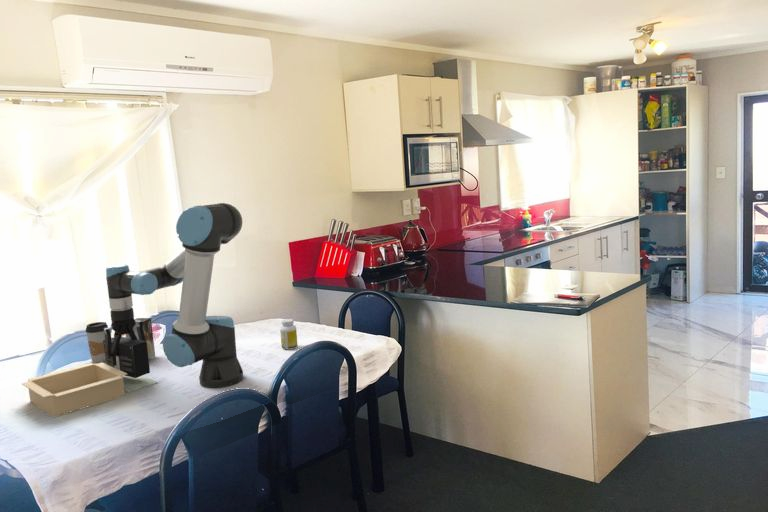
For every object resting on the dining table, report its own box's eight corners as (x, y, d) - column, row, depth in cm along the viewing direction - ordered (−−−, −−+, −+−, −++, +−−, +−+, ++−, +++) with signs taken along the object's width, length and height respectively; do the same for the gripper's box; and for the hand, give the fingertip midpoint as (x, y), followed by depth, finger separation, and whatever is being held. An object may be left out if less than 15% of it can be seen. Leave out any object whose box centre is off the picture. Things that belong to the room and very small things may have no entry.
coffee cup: (84, 363, 255) (80, 326, 253) (101, 356, 263) (96, 321, 261) (100, 364, 252) (96, 327, 250) (116, 358, 260) (112, 322, 257)
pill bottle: (300, 346, 264) (299, 319, 262) (290, 351, 259) (288, 323, 257) (288, 344, 268) (286, 317, 266) (278, 349, 262) (276, 321, 260)
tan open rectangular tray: (133, 395, 217) (131, 375, 216) (49, 420, 198) (47, 399, 197) (101, 379, 235) (98, 361, 234) (21, 401, 216) (19, 381, 215)
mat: (158, 382, 228) (158, 381, 228) (128, 392, 220) (127, 390, 220) (131, 371, 243) (131, 370, 242) (102, 379, 235) (101, 378, 235)
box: (151, 372, 229) (147, 340, 227) (135, 379, 224) (130, 346, 221) (122, 365, 238) (117, 334, 236) (106, 371, 233) (101, 340, 231)
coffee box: (141, 356, 262) (137, 317, 259) (155, 356, 260) (151, 317, 258) (128, 363, 253) (123, 323, 250) (143, 363, 251) (138, 323, 249)
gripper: (143, 301, 237) (149, 361, 241) (88, 312, 223) (96, 376, 226) (153, 304, 232) (159, 365, 235) (97, 315, 218) (105, 380, 221)
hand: (128, 370), depth 231 cm, fingers closed on box, 7 cm apart
